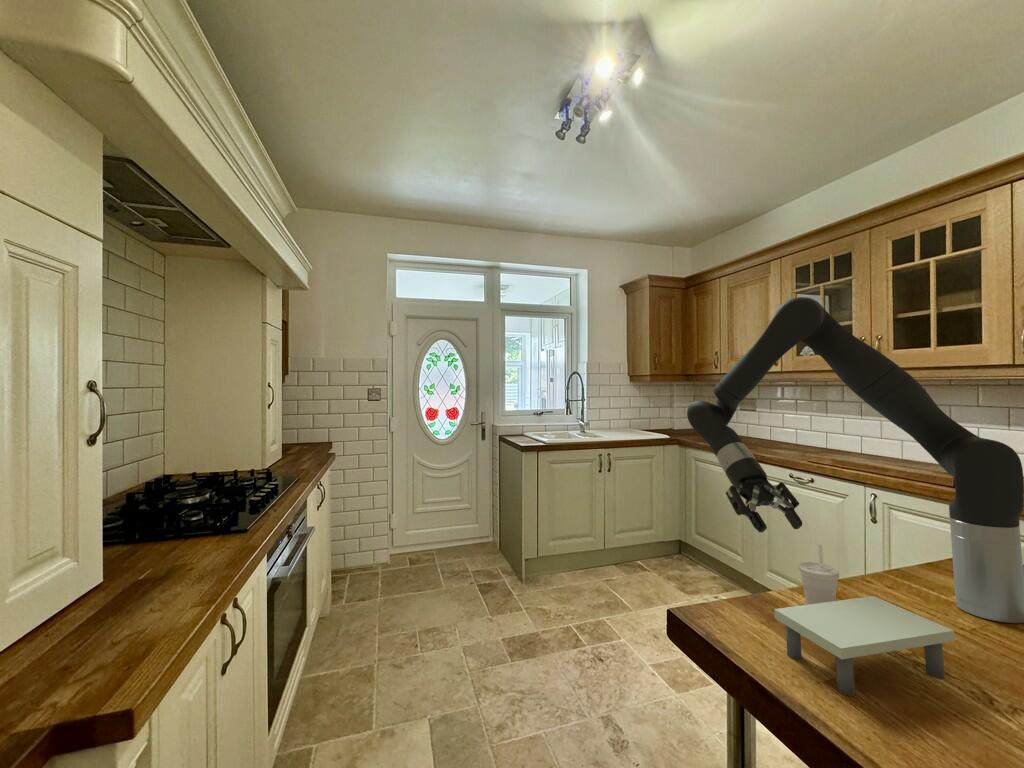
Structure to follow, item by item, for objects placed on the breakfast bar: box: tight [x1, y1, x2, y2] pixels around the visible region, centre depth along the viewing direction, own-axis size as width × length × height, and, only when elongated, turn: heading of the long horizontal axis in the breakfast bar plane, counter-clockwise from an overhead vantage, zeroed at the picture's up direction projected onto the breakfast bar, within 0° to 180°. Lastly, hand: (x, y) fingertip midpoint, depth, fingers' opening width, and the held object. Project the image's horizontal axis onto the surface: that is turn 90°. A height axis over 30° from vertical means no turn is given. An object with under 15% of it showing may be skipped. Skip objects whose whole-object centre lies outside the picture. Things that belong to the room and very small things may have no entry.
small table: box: [774, 595, 956, 697], centre depth 69 cm, size 20×12×7 cm, turn 101°
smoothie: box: [797, 544, 840, 605], centre depth 83 cm, size 6×6×14 cm
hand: (781, 528), depth 91 cm, fingers open, 8 cm apart
